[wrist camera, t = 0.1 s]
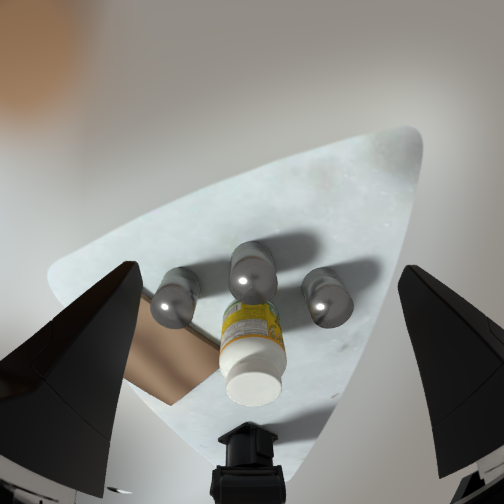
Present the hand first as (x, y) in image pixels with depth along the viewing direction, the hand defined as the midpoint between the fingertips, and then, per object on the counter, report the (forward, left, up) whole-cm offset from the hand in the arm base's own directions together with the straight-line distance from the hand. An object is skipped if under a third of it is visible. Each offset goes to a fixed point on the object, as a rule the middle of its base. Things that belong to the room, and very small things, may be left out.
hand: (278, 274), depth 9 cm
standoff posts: (-6, -5, -15) cm, 17 cm away
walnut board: (-20, -3, -15) cm, 26 cm away
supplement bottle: (-9, -8, -16) cm, 20 cm away
